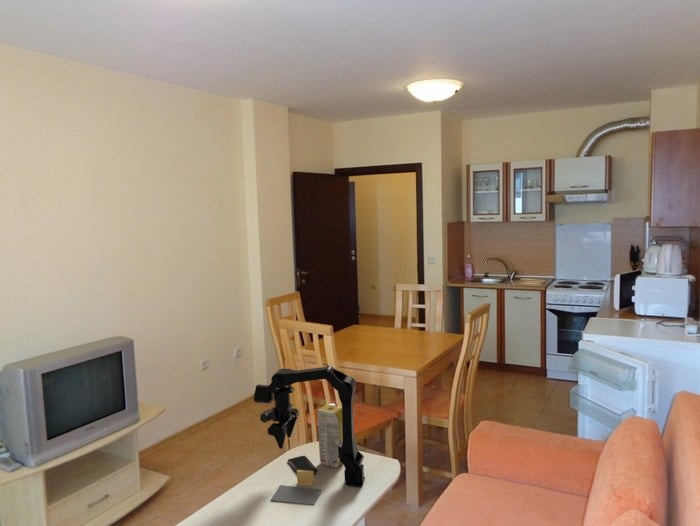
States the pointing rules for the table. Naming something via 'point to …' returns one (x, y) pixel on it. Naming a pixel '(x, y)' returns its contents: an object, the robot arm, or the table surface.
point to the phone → (302, 464)
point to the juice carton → (330, 434)
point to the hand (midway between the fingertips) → (285, 442)
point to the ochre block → (305, 477)
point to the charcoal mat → (296, 495)
